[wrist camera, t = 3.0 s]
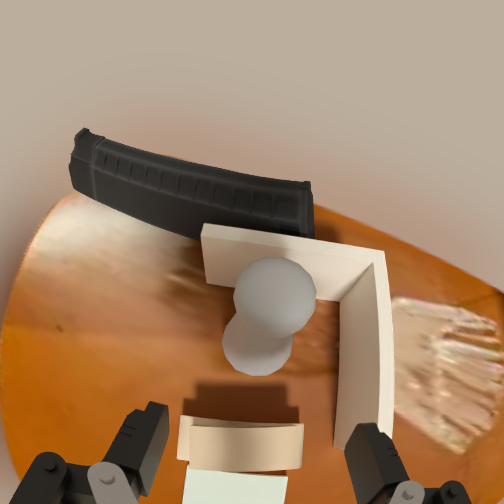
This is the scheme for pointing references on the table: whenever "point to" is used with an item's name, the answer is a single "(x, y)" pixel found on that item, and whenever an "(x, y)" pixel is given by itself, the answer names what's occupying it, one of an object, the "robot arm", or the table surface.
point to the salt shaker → (268, 314)
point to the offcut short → (244, 448)
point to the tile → (233, 488)
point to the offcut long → (190, 420)
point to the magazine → (187, 191)
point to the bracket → (333, 289)
